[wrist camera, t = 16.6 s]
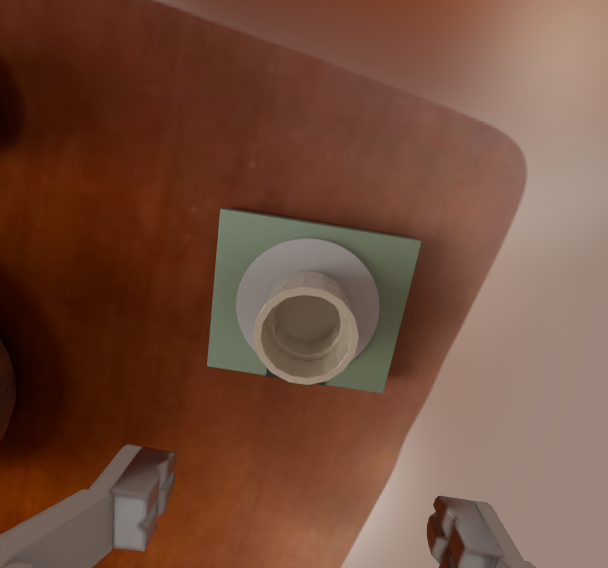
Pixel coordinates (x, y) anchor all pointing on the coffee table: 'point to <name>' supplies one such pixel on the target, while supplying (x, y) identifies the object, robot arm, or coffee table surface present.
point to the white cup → (306, 329)
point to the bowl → (6, 389)
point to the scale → (316, 258)
